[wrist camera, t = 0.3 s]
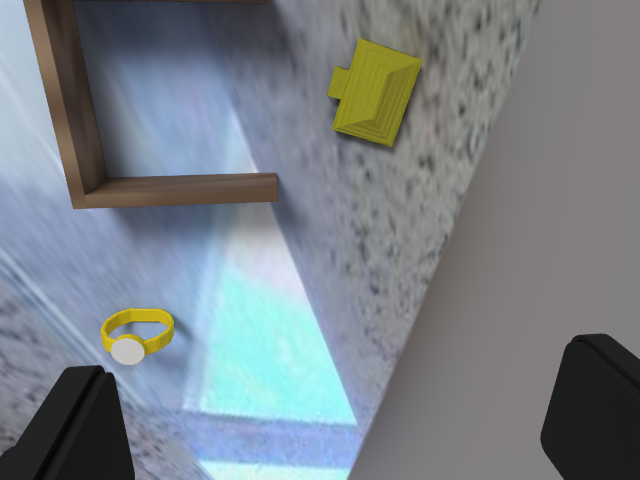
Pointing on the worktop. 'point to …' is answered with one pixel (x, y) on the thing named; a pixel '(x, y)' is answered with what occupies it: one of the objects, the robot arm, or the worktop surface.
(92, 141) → the box
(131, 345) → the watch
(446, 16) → the worktop surface
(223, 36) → the worktop surface
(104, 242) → the worktop surface
